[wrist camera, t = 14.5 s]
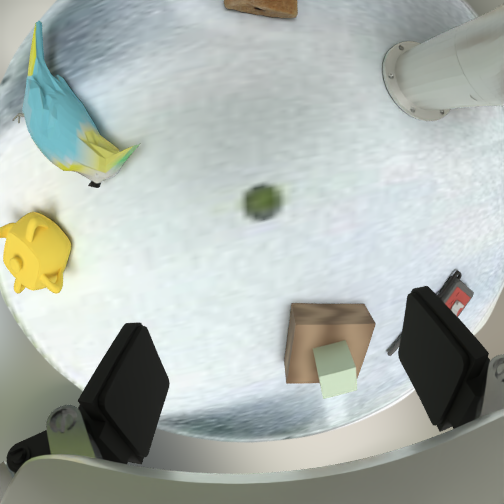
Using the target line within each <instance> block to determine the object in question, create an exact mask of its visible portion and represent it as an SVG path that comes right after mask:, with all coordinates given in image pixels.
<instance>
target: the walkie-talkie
mask: <svg viewBox="0 0 504 504" xmlns="http://www.w3.org/2000/svg"><path fill="white" fill-rule="evenodd" d="M457 275H458V277H456V276H457ZM460 278H461V272H459V271H456V272H455V273H454V274H453V276H451V277H450V278H449V279H448V281H447V283H446V284H445V286H444V287H443V289H441V291H440V293H439V294H438V295H437V296H438V297H439V298H440V299H441V300H442V301H443V302H444V303H445V304H446V305H447V306H448V308H449V309H450V310H451V311H452V312H453V313H454V314H455V315H456V316H457V317H458V316H459V315H460V313H461V312H462V311H463V309H464V308H465V306H466V305H467V304H468V302H469V301H470V299H471V298H472V297H473V293H474V292H473V291H471V290H470V289H469V288H468V287H467V286H466V285H465V284H464V283H462V282H461V281H460ZM400 340H401V337H400V339H399V340H398V341H397V342H396V344H395V345H394V346H393V348H392V349H391V350H390V351H389V352H388V355H389V356H391V355H392V354H393V353H394V352H395V351H396V350H397V349H398V347H399V346H400Z"/></svg>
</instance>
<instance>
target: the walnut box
mask: <svg viewBox="0 0 504 504" xmlns="http://www.w3.org/2000/svg"><path fill="white" fill-rule="evenodd" d="M375 324H376V323H375V322H374V320H373V318H372V316H371V315H370V313H369V311H368V310H367V308H366V306H365V304H307V303H292V304H291V312H290V320H289V328H288V336H287V343H286V351H285V358H284V365H285V375H286V383H320V381H319V377H318V372H317V367H316V362H315V357H314V352H313V348H317V347H321V346H325V345H329V344H333V343H337V342H340V341H344V340H346V343H347V345H348V348H349V350H350V353H351V356H352V358H353V361H354V364H355V366H356V378H357V377H358V375H359V372H360V369H361V367H362V364H363V361H364V358H365V355H366V352H367V349H368V346H369V343H370V340H371V337H372V334H373V330H374V327H375Z"/></svg>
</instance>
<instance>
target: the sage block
mask: <svg viewBox="0 0 504 504" xmlns="http://www.w3.org/2000/svg"><path fill="white" fill-rule="evenodd" d="M313 352H314V357H315V362H316V367H317V372H318V377H319V381H320V386H321V391H322V395H323V399H325V398H329V397H333V396H337V395H341V394H345V393H348V392H352V391H356V390H357V378H356V366H355V364H354V361H353V358H352V356H351V353H350V350H349V348H348V345H347V343H346V340H344V341H340V342H337V343H333V344H329V345H325V346H321V347H317V348H313Z"/></svg>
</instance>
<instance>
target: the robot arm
mask: <svg viewBox="0 0 504 504" xmlns="http://www.w3.org/2000/svg"><path fill="white" fill-rule="evenodd" d="M383 76H384V81H385V84H386V87H387V89H388V91H389V94H390V95H391V97H392V98H393V100H394V101H395V103H396V104H397V105H398V106H399V107H400V108H401V109H402V110H403V111H404V112H405V113H407V114H408V115H410V116H412V117H413V118H416V119H418V120H422V121H435V120H439V119H441V118H443V117H444V116H446V115H447V114H448V113H449V111H450V110H451V109H453V108H466V107H486V106H504V3H503V4H502V5H500V6H499V7H497V8H495V9H494V10H492V11H490V12H488V13H486V14H483V15H481V16H479V17H477V18H475V19H473V20H470V21H468V22H466V23H464V24H461V25H459V26H457V27H454V28H452V29H450V30H448V31H446V32H444V33H441V34H439V35H437V36H435V37H433V38H431V39H429V40H427V41H425V42H423V43H418V42H414V41H405V42H401V43H398V44H396V45H395V46H393V47H392V48H391V49H390V50H389V51H388V52H387V54H386V56H385V58H384V62H383ZM388 76H389V77H390V78H389V77H388ZM410 109H411V110H410ZM488 354H489V353H488V352H487V351H486V349H485V348H484V347H483V346H482V344H481V343H480V342H479V341H478V340H477V339H476V337H475V336H474V335H473V334H472V333H471V332H470V331H469V329H468V328H467V327H466V326H465V325H464V324H463V323H462V322H461V320H460V319H459V318H458V317H457V316H456V315H455V314H454V313H453V312H452V311H451V310H450V309H449V308H448V306H447V305H446V304H445V303H444V302H443V301H442V300H441V299H440V298H439V297H438V296H437V295H436V294H435V293H434V292H433V291H432V290H431V289H430V288H429V287H428V286H424V287H419V288H414V289H413V290H412V291H411V293H410V294H408V296H407V302H406V310H405V317H404V323H403V329H402V335H401V340H400V346H399V351H398V355H399V359H400V361H401V363H402V365H403V367H404V369H405V371H406V373H407V375H408V376H409V378H410V380H411V382H412V384H413V386H414V388H415V390H416V392H417V394H418V396H419V397H420V400H421V402H422V404H423V406H424V408H425V410H426V412H427V414H428V416H429V418H430V421H431V423H432V424H433V425H437V427H438V429H439V431H443V430H445V429H447V428H450V427H453V430H450V431H448V432H445V433H443V434H440V435H438V436H435V437H432V438H430V439H427V440H424V441H421V442H419V443H415V444H413V445H410V446H407V447H403V448H400V449H397V450H394V451H390V452H387V453H383V454H380V455H376V456H372V457H368V458H364V459H359V460H355V461H350V462H346V463H340V464H335V465H330V466H324V467H317V468H310V469H304V470H294V471H285V472H272V473H253V474H211V473H210V474H209V473H192V472H180V471H169V470H161V469H154V468H147V467H140V466H134V465H128V464H127V463H128V462H132V463H137V464H142V462H143V458H144V457H147V455H148V453H149V450H150V447H151V443H152V440H153V437H154V434H155V430H156V427H157V424H158V421H159V417H160V414H161V411H162V408H163V405H164V402H165V398H166V395H167V392H168V389H169V378H168V376H167V374H166V372H165V369H164V367H163V365H162V363H161V360H160V358H159V356H158V353H157V351H156V348H155V346H154V344H153V341H152V339H151V336H150V334H149V331H148V329H147V327H145V326H143V325H142V324H141V323H126V324H125V325H124V326H123V327H122V329H121V331H120V332H119V334H118V335H117V337H116V338H115V340H114V341H113V343H112V345H111V346H110V348H109V349H108V351H107V353H106V354H105V356H104V357H103V359H102V361H101V362H100V364H99V365H98V367H97V369H96V370H95V372H94V374H93V375H92V377H91V379H90V380H89V382H88V384H87V385H86V387H85V389H84V391H83V392H82V394H81V396H80V398H79V399H78V402H79V403H80V406H79V408H77V407H75V406H73V405H63V406H60V407H58V408H56V409H55V410H54V411H53V412H51V414H50V415H49V417H48V419H47V421H46V429H47V430H45V431H43V432H41V433H39V434H37V435H35V436H32V437H30V438H28V439H26V440H23V441H21V442H19V443H17V444H15V445H14V446H13V447H12V448H11V449H10V450H9V452H8V455H7V463H6V462H4V461H3V462H2V463H1V464H0V504H504V355H498V356H496V357H494V358H493V359H492V360H491V361H490V359H489V358H488Z"/></svg>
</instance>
